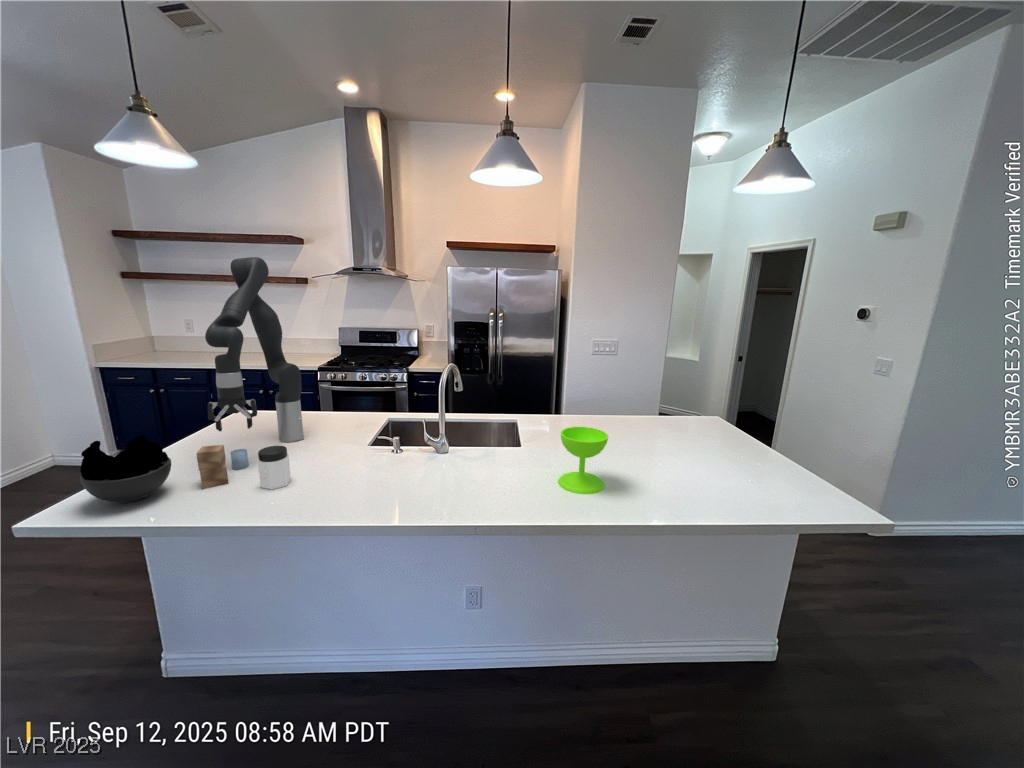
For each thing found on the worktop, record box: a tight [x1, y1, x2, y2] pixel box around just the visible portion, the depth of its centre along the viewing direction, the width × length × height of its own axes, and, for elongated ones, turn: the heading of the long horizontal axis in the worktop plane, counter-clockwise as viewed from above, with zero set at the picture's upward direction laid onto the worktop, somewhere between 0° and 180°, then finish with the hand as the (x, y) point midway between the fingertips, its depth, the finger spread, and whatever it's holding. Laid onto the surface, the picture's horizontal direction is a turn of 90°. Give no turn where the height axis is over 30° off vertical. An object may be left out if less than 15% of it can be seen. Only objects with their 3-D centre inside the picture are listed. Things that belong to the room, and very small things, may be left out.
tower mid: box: [196, 444, 227, 472], centre depth 135 cm, size 6×6×6 cm
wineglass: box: [557, 426, 609, 495], centre depth 141 cm, size 16×16×18 cm
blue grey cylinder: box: [230, 448, 250, 471], centre depth 148 cm, size 5×5×6 cm
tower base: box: [199, 461, 229, 490], centre depth 136 cm, size 7×7×6 cm
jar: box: [257, 445, 292, 491], centre depth 135 cm, size 9×8×12 cm
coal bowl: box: [79, 434, 172, 504], centre depth 123 cm, size 20×20×19 cm
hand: (234, 429), depth 146 cm, fingers open, 8 cm apart
